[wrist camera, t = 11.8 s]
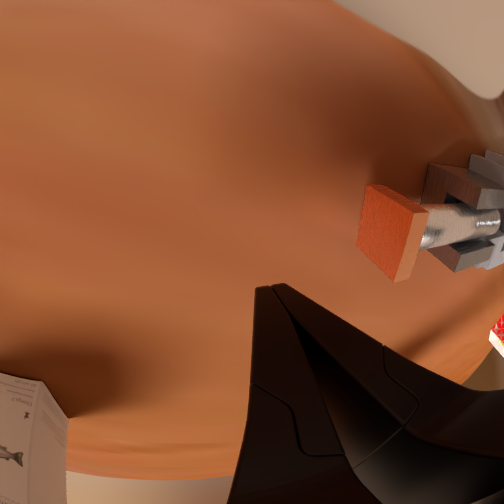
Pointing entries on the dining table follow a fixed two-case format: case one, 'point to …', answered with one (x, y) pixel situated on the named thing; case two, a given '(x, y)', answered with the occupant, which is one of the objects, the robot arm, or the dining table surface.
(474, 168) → the socket
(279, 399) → the robot arm
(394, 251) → the lock pin
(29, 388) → the supplement box
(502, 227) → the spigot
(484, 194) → the pin mount
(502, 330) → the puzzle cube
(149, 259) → the dining table surface
